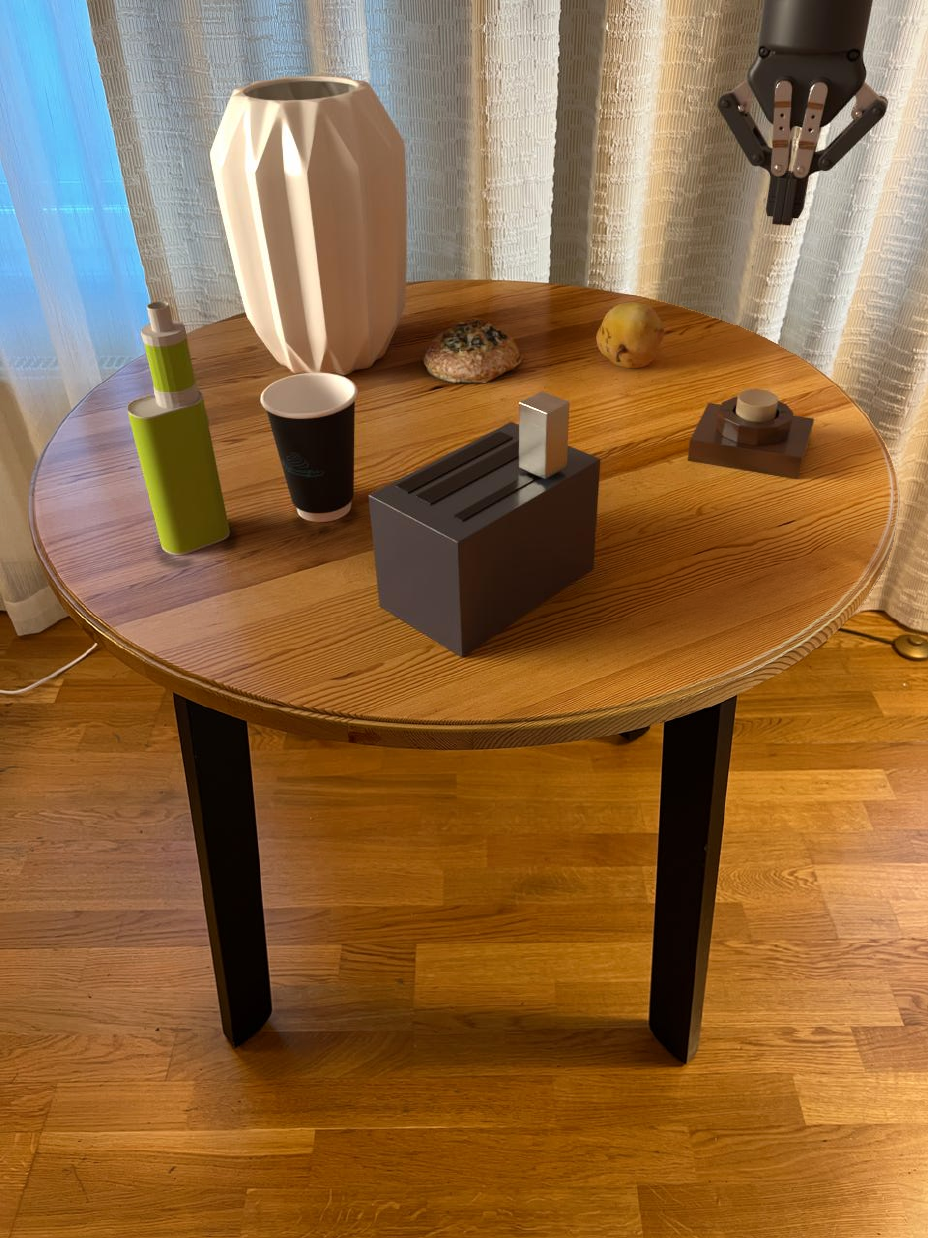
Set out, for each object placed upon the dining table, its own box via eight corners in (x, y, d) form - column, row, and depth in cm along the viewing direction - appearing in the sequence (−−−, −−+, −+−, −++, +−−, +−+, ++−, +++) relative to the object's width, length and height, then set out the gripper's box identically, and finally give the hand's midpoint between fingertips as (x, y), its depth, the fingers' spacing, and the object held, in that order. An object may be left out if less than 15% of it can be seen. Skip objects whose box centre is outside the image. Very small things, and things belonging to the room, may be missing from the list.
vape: (238, 534, 87) (193, 305, 75) (172, 559, 84) (115, 326, 72) (219, 516, 89) (172, 291, 77) (154, 539, 87) (96, 310, 74)
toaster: (462, 658, 73) (457, 541, 67) (379, 606, 78) (368, 493, 72) (593, 569, 82) (600, 457, 75) (511, 527, 87) (511, 419, 80)
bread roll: (451, 334, 119) (454, 294, 115) (536, 364, 115) (542, 323, 112) (401, 375, 111) (403, 334, 108) (491, 408, 108) (496, 366, 105)
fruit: (651, 336, 103) (686, 301, 110) (591, 309, 105) (629, 276, 112) (631, 393, 108) (665, 356, 115) (574, 366, 110) (611, 331, 117)
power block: (810, 439, 97) (818, 400, 95) (797, 479, 92) (805, 439, 89) (705, 422, 101) (710, 385, 98) (687, 460, 95) (692, 421, 92)
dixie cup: (281, 537, 87) (261, 419, 80) (277, 490, 93) (258, 377, 86) (374, 525, 88) (362, 408, 81) (363, 479, 94) (352, 367, 87)
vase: (215, 351, 118) (166, 87, 101) (359, 309, 126) (335, 60, 110) (298, 410, 105) (257, 120, 88) (451, 359, 114) (440, 87, 97)
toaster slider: (545, 479, 73) (547, 413, 70) (518, 467, 74) (518, 401, 71) (567, 467, 74) (569, 401, 71) (540, 455, 75) (541, 390, 72)
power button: (778, 409, 95) (781, 392, 94) (771, 426, 92) (775, 408, 91) (739, 403, 96) (741, 386, 95) (731, 420, 93) (734, 402, 92)
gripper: (718, -23, 72) (692, 229, 82) (919, -21, 68) (864, 244, 78) (737, -36, 77) (710, 202, 88) (924, -34, 73) (872, 215, 84)
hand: (783, 221), depth 83 cm, fingers closed
